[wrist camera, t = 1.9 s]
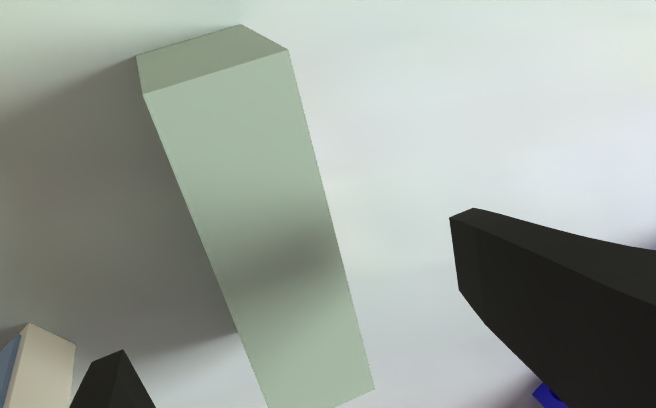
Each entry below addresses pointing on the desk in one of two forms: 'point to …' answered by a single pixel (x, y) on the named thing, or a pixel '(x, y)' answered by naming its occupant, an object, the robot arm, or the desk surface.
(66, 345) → the tile
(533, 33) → the desk surface
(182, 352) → the desk surface
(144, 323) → the desk surface
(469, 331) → the desk surface
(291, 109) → the block
